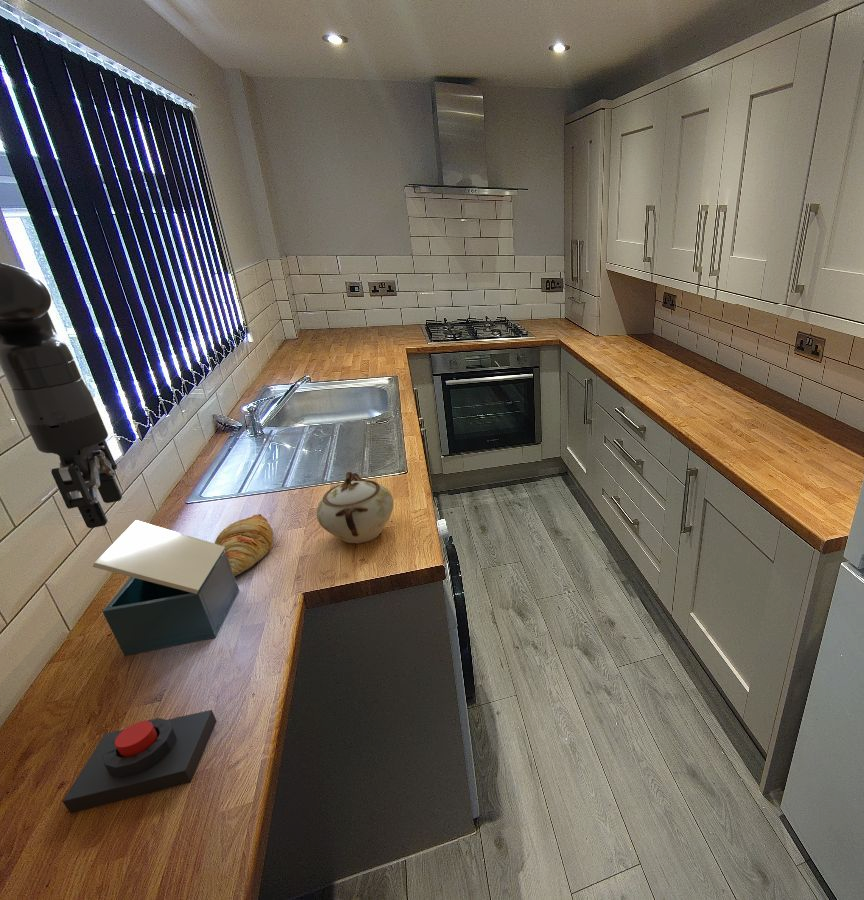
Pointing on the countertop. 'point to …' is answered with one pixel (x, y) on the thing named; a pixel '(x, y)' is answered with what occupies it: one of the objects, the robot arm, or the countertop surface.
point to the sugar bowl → (355, 509)
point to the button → (136, 738)
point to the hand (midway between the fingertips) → (106, 513)
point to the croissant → (246, 542)
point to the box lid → (161, 557)
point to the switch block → (142, 763)
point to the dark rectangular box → (170, 611)
